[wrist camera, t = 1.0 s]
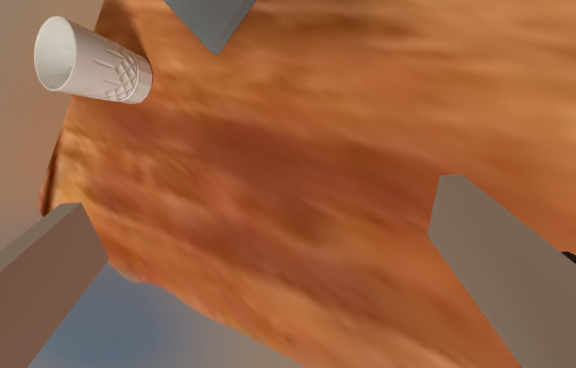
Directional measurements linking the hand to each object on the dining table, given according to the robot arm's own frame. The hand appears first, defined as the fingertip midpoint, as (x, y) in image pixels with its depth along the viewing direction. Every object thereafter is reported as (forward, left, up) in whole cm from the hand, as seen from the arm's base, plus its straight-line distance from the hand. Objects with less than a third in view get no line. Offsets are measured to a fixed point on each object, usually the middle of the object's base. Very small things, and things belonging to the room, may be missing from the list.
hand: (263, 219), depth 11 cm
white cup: (+12, -32, -19) cm, 39 cm away
